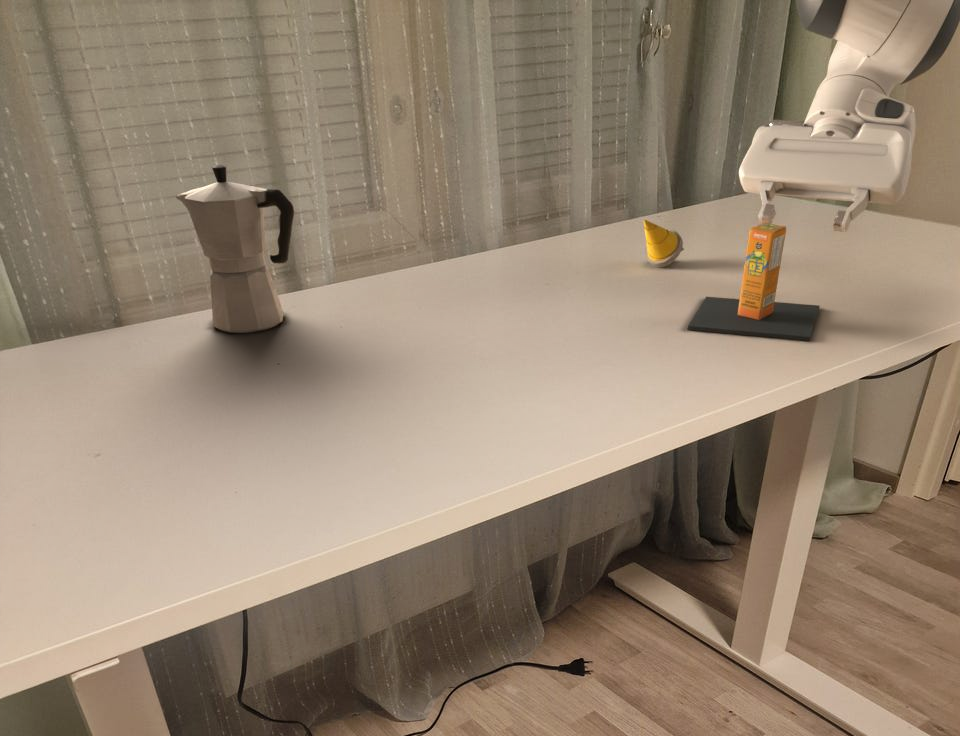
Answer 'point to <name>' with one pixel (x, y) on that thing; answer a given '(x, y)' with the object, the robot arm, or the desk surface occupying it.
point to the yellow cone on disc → (661, 244)
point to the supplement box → (761, 270)
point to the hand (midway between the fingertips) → (801, 225)
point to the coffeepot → (239, 250)
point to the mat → (779, 324)
